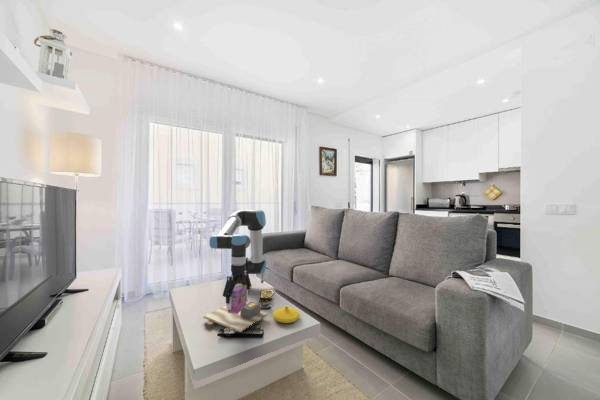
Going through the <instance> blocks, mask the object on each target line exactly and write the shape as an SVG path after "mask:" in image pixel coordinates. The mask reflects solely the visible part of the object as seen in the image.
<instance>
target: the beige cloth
mask: <svg viewBox="0 0 600 400" xmlns="http://www.w3.org/2000/svg"><path fill="white" fill-rule="evenodd" d="M240 312H241V311H240ZM240 312H239V313H238V314H234V313H228V309H226V305H224V306H221V307H219V308H218V309H215V310H214V311H211V312H210V313H207V314H205V315H203V319H205V320H207V321H205V322H204V328H205V329H209V330H211V329H214V328H215V327H217V326H219V325H221V326H224V327H225V328H224V329H223V330H226V329H230V328H232V329H235V330H237V331H238V332H239V333H242V332H243V330H244V331H245V330H246V328H247V329H249V326H250V325H251V326H253V325H254V324H253V323H254V322H256V321H258V322H259V321H260V320H262V319H264V318H266V317H267V316H268V315H269V313H268V312H265V311H261V310H260V313H259V314H257V315H256V316H254V317H252V318H251V319H249V318H246V317H242V316H240ZM256 323H257V322H256ZM252 324H253V325H252ZM251 326H250V327H251Z"/></svg>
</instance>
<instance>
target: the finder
mask: <svg viewBox="0 0 600 400" xmlns="http://www.w3.org/2000/svg"><path fill="white" fill-rule="evenodd" d="M260 311H261V303H258V302H254V301H249V302H246V306H245V307H244V308H243V309H242V310H241V312H240V316H242V317H246V318H249V319H251V318H252V317H254V316H256V315H257V314H259V313H260Z"/></svg>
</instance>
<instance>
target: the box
mask: <svg viewBox="0 0 600 400" xmlns="http://www.w3.org/2000/svg"><path fill="white" fill-rule="evenodd" d="M246 288H247V287H246V285H244V284H236V285H235V287H234V289H233V291H232V294H231V297H232V301H231V310H228V313H234V314H238V313H239V312H240V311H241V310H242V309H243V308H244V307H245V306H246V304H247V302H246ZM228 295H229V294H228Z"/></svg>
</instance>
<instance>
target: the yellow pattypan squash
mask: <svg viewBox="0 0 600 400" xmlns="http://www.w3.org/2000/svg"><path fill="white" fill-rule="evenodd" d="M300 316H301V313H300V312H299V311H298V310H297V309H295V308H293V307H289V306H285V307H280V308H277V309H276V310H275V311H274V312H273V313H272V317H273V319H274V320H275V321H276V322H278V323H282V324H291V323H294V322H296V321H298V320H299V319H300Z"/></svg>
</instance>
